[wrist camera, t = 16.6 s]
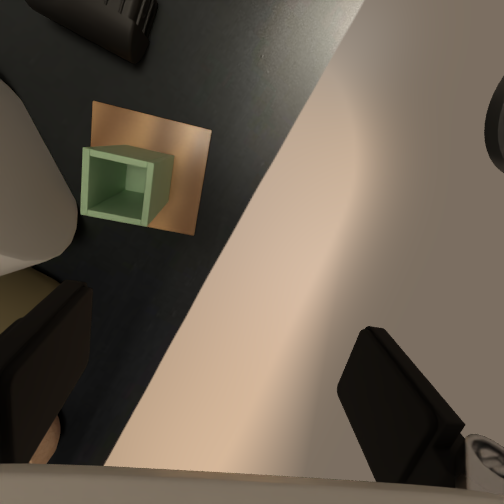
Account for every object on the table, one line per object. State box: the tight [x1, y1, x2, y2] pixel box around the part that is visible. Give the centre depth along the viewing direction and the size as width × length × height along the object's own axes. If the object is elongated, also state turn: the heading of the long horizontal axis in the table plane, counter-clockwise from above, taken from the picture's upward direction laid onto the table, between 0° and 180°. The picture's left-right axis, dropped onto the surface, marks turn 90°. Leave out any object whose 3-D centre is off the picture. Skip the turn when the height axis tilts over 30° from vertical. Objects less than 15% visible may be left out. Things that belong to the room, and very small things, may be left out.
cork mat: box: [91, 101, 212, 235], centre depth 38 cm, size 14×14×1 cm
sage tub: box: [80, 145, 174, 227], centre depth 32 cm, size 6×6×12 cm
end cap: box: [25, 0, 158, 64], centre depth 29 cm, size 10×7×7 cm
